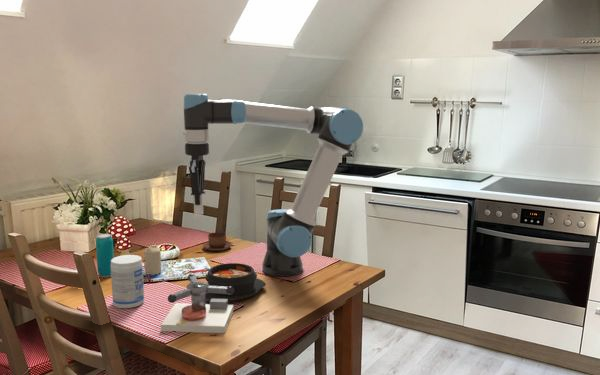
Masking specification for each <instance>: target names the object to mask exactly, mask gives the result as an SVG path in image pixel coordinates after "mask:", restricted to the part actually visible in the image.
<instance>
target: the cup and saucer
mask: <svg viewBox="0 0 600 375" xmlns="http://www.w3.org/2000/svg"><path fill="white" fill-rule="evenodd" d="M207 237H208V241H206V242H203V244H202V247H203V248H204V249H205V250H208V251H212V252H213V251H215V252H219V251H224V250H229V248H231V247H232V245H233V244H232V242H231V241H228V240H227V234H226V233H225V232H220V231H218V232H217V231H216V232H211V233H208V235H207Z"/></svg>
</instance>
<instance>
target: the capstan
mask: <svg viewBox="0 0 600 375" xmlns="http://www.w3.org/2000/svg"><path fill="white" fill-rule="evenodd" d="M187 280H188V281H189V283H188V284H187V285H186V289H182V290H180V291H177V292H174V293H170V294H168V296H167V302H169V303H170V304H173V303H174V304H175V303H176V302H177V301H180V300H182V299H185V298H188V297H190V296H191V298H190V299H191V303H190V304H192V305H189V306H186V307H184V308H183V309H182V318H183V319H185V320H190V321H194V320H200V319H202V318H204V317H205V316H206V306H205V304H206V301H205V294H207V293H219V294H228V295H231V294H233V293H234V288H233V287H231V286H229V287H225V286H209V284H208V282H207V281H198V279H197V277H196V275H195V274H194V273H190V274H188V276H187Z"/></svg>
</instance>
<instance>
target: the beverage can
mask: <svg viewBox="0 0 600 375" xmlns="http://www.w3.org/2000/svg"><path fill="white" fill-rule="evenodd" d="M112 236H113V235H112V234H111V233H100V234H97V235H96V239H95V249H96V250H95V251H96V266H97V274H98V275H99V277H100V278H103V279H104V278H105V279H106V278H111V260H112V259H113V258H115V253H114V238H113V237H112Z"/></svg>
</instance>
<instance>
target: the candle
mask: <svg viewBox="0 0 600 375" xmlns="http://www.w3.org/2000/svg"><path fill="white" fill-rule="evenodd" d="M161 254H162V253H161V249H160V248H159V247H158V246H157V245H153V246H152V245H150V246H148V247H147V248H146V249H145V250H144V260H145V262H144V264H145V265H144V266H145V274H146V273H148V274H157V275H160V274H161V273H162V260H161V259H162V257H161ZM159 273H160V274H159Z"/></svg>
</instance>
